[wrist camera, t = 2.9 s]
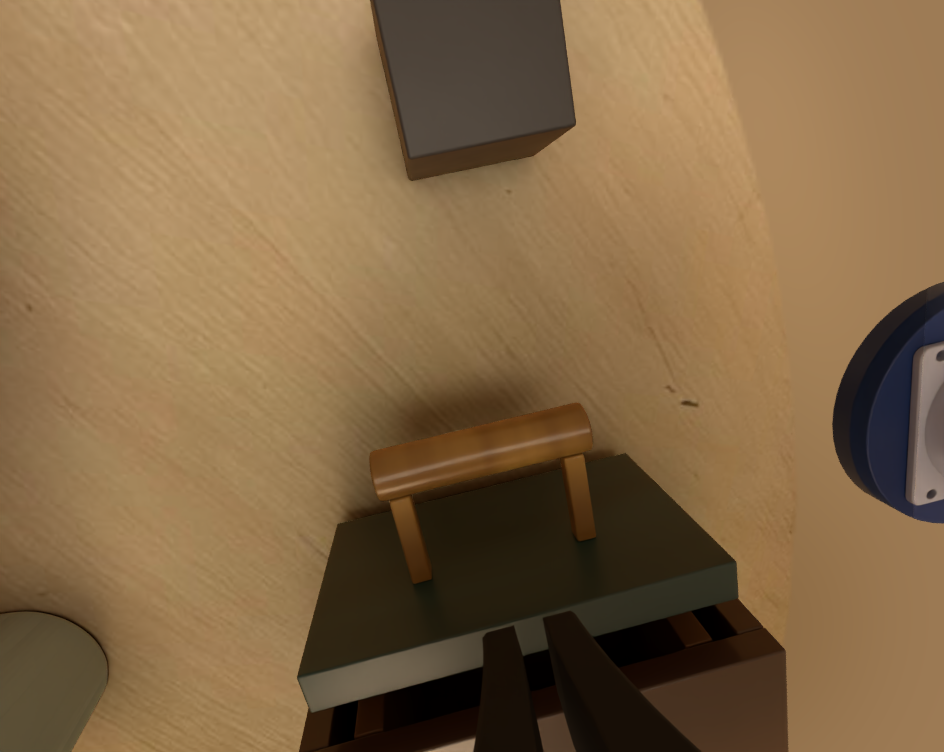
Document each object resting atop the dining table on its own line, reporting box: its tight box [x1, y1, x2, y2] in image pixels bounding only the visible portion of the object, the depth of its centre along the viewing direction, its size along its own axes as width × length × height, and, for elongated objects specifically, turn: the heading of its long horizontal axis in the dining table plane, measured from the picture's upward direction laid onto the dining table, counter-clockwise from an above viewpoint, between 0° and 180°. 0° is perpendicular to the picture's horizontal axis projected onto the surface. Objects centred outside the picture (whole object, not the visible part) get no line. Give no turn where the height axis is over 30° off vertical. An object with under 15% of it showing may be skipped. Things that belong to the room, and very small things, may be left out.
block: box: [370, 0, 576, 181], centre depth 14 cm, size 4×4×4 cm
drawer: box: [297, 402, 738, 740], centre depth 17 cm, size 18×11×7 cm, turn 12°
